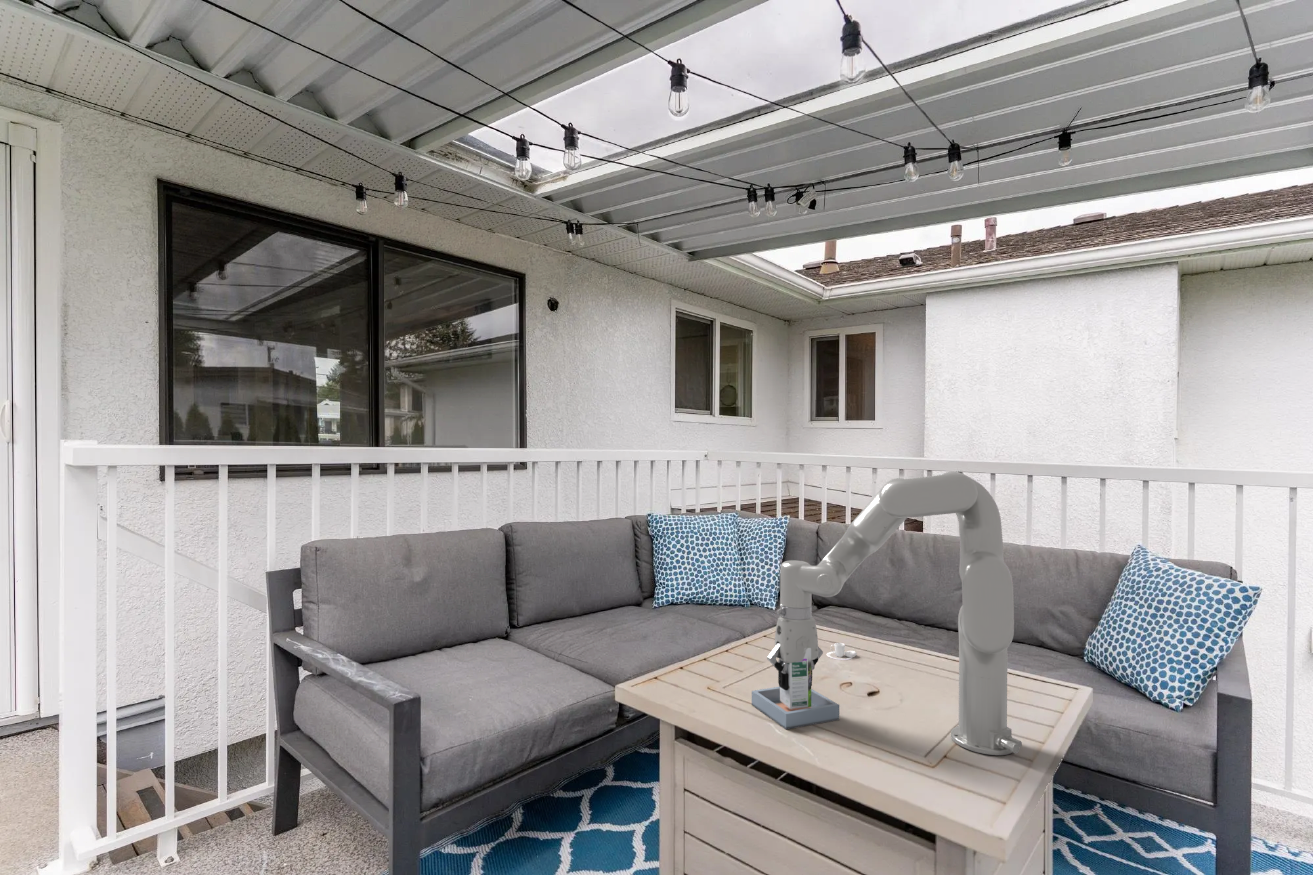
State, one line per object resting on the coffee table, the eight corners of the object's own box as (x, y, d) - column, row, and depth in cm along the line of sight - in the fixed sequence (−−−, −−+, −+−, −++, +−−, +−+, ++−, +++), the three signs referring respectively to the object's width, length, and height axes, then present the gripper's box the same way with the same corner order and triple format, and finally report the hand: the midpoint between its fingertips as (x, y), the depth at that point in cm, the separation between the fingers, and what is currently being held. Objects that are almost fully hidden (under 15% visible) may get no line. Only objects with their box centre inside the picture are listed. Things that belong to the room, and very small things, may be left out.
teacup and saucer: (858, 656, 200) (858, 643, 200) (851, 663, 193) (851, 650, 193) (830, 651, 205) (831, 638, 205) (822, 658, 198) (823, 644, 198)
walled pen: (839, 719, 151) (839, 704, 152) (785, 729, 146) (786, 714, 146) (801, 696, 165) (801, 683, 165) (751, 704, 160) (751, 690, 160)
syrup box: (790, 709, 152) (790, 648, 152) (779, 700, 158) (779, 641, 158) (811, 707, 153) (812, 646, 154) (799, 698, 159) (800, 639, 159)
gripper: (774, 619, 149) (773, 697, 149) (834, 612, 156) (834, 687, 155) (757, 611, 156) (756, 685, 156) (815, 605, 163) (815, 676, 162)
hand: (795, 685), depth 156 cm, fingers closed on syrup box, 6 cm apart
